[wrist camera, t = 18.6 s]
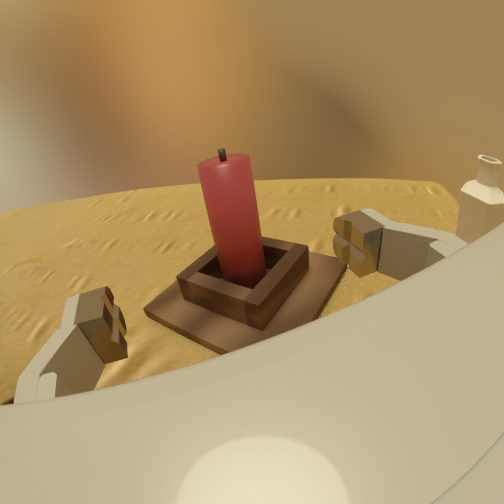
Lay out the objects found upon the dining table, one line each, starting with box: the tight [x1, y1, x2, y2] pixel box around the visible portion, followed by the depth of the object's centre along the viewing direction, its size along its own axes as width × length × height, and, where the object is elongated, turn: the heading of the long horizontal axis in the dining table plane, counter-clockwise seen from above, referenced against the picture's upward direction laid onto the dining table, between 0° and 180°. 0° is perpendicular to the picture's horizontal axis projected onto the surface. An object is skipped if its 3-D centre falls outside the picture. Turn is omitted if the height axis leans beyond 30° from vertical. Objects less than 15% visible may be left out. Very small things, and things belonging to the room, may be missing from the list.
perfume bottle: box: [456, 155, 504, 244], centre depth 19 cm, size 5×4×15 cm
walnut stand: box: [143, 237, 347, 355], centre depth 30 cm, size 16×16×4 cm
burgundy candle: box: [197, 149, 267, 289], centre depth 27 cm, size 4×4×14 cm
